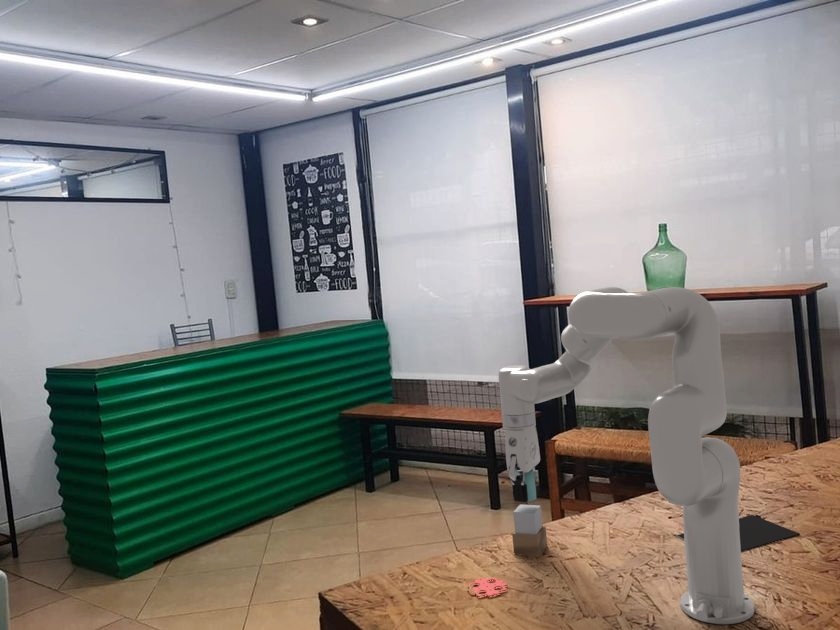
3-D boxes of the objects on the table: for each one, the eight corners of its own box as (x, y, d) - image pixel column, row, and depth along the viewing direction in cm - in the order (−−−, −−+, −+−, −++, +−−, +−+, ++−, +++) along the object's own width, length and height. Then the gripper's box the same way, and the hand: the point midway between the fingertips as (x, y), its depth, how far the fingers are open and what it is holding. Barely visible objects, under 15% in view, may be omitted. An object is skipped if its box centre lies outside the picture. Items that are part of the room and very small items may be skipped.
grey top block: (536, 534, 163) (534, 513, 163) (515, 533, 166) (513, 511, 165) (542, 526, 168) (540, 505, 167) (522, 525, 170) (520, 504, 170)
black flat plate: (801, 537, 161) (749, 517, 175) (801, 531, 161) (749, 511, 175) (720, 561, 153) (673, 537, 167) (719, 555, 153) (672, 532, 167)
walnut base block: (539, 557, 163) (537, 535, 163) (514, 554, 166) (512, 533, 166) (547, 546, 168) (545, 526, 168) (523, 544, 171) (521, 523, 171)
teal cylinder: (532, 502, 163) (529, 476, 163) (511, 500, 165) (509, 475, 165) (539, 495, 167) (537, 470, 167) (519, 493, 170) (517, 468, 169)
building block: (476, 598, 145) (512, 589, 147) (462, 583, 152) (497, 574, 155) (476, 602, 145) (512, 593, 147) (462, 586, 152) (497, 578, 155)
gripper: (521, 429, 156) (528, 511, 157) (546, 411, 171) (552, 486, 172) (489, 428, 159) (496, 508, 161) (516, 410, 174) (523, 484, 176)
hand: (525, 496), depth 166 cm, fingers closed on teal cylinder, 4 cm apart
